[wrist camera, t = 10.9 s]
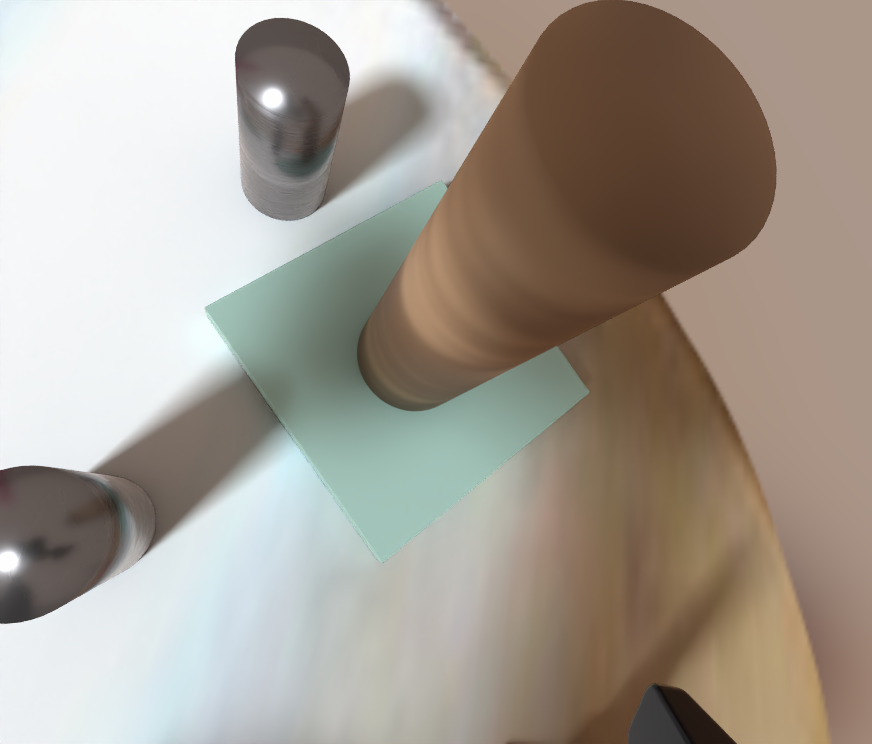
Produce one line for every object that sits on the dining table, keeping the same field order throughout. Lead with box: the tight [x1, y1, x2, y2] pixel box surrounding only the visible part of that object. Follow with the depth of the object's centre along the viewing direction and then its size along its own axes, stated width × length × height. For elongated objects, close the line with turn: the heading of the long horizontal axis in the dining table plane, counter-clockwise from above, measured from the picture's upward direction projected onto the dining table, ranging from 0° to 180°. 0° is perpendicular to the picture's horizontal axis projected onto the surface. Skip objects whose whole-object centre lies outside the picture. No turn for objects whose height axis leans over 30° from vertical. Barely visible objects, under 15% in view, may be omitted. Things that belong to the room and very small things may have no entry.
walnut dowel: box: [357, 0, 776, 411], centre depth 14 cm, size 4×4×13 cm
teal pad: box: [205, 180, 590, 563], centre depth 20 cm, size 10×10×1 cm
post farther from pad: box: [0, 466, 156, 624], centre depth 14 cm, size 3×3×6 cm
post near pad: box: [235, 18, 350, 221], centre depth 18 cm, size 3×3×6 cm
